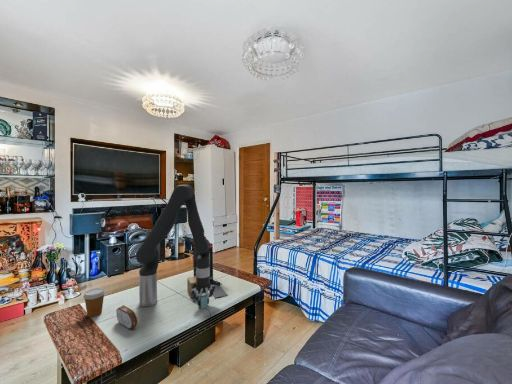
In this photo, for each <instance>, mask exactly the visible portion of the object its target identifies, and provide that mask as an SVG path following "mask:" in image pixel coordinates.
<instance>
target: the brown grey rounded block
mask: <svg viewBox="0 0 512 384" xmlns="http://www.w3.org/2000/svg"><path fill="white" fill-rule="evenodd" d="M116 319H117V321H118V323H119V324H120V325H122V326H123V327H124V328H126V329H128V330H131V329H134V328H136V327H137V326H138V317H137V315H136V312H135V311H134V310H133V309H131V308H129V307H127V306H126V305H122V306H119V307H118V308H116Z"/></svg>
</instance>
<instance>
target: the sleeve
mask: <svg viewBox="0 0 512 384" xmlns="http://www.w3.org/2000/svg"><path fill="white" fill-rule="evenodd" d="M186 282H187V284H186V285H187V286H186V287H187V291H186V292H187V294H188V295H189V298H190V299H194V297H193V294H192V292H191V289H194V288H195V287H196V276H195V277H194V276H190V277H187V281H186Z"/></svg>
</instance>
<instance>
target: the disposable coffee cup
mask: <svg viewBox="0 0 512 384" xmlns="http://www.w3.org/2000/svg"><path fill="white" fill-rule="evenodd" d="M105 294H106V290H105V289H104V288H101V287H100V288H98V287H97V288H93V289H89V290H87V291H85V292H84V295H83V299H84V302H85V303H84V305H85V310H86V315H87V317H89V318H95V317H98V316H100V315H101V314H102V312H103V308H104V307H103V305H104V300H105V299H104V297H105Z"/></svg>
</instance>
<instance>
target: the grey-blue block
mask: <svg viewBox="0 0 512 384" xmlns="http://www.w3.org/2000/svg"><path fill="white" fill-rule="evenodd" d="M195 295H196V297H197V296H198V291H197V290H196V292H195ZM200 300H201V307H200V309H207V308H209V306H208V305H209V304H208V302H207V295H206V294H205V293H203V294H202V296H201V299H200ZM195 301H196V302H197V300H195Z"/></svg>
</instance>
